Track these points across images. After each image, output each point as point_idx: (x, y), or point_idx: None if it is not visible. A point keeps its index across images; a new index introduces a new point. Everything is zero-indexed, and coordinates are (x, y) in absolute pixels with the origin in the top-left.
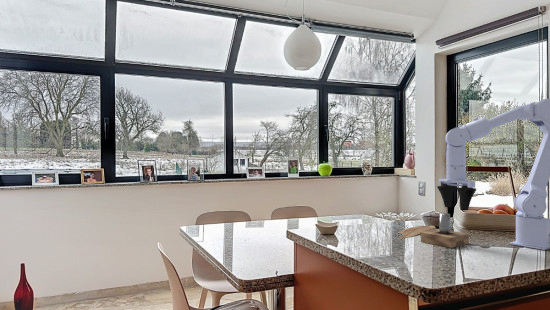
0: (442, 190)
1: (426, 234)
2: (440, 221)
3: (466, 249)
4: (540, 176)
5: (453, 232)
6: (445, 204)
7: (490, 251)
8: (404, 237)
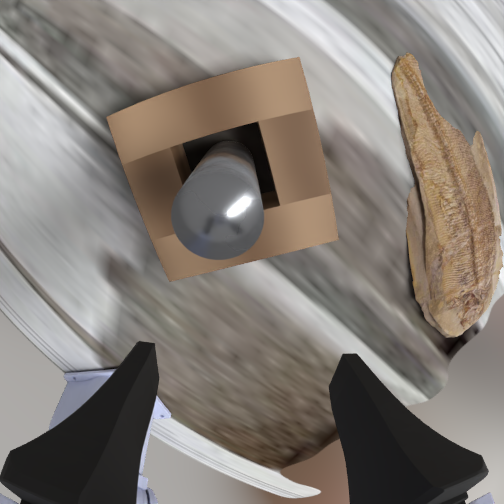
0: (410, 462)
1: (259, 66)
2: (225, 159)
3: (88, 164)
4: None
5: None
6: (351, 367)
7: (51, 231)
8: (396, 65)
